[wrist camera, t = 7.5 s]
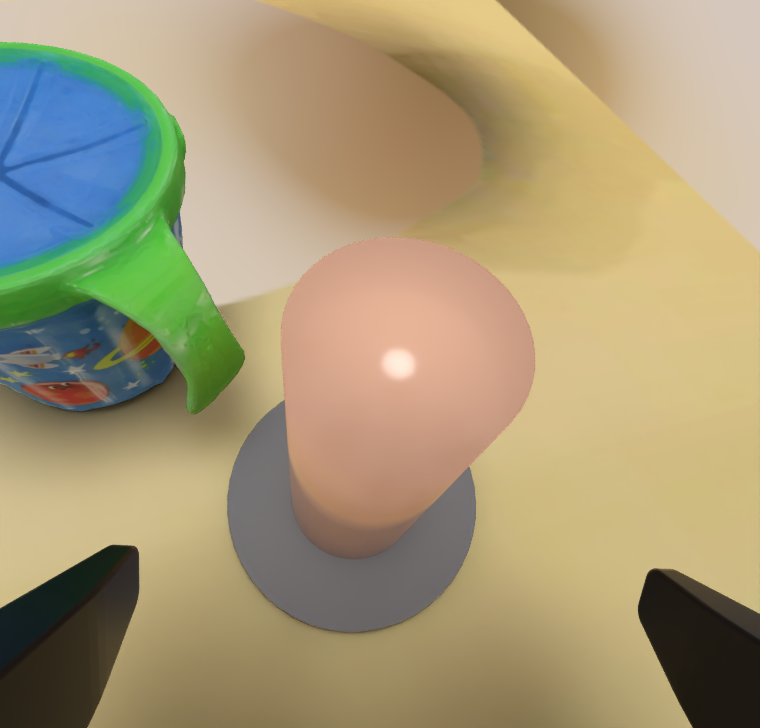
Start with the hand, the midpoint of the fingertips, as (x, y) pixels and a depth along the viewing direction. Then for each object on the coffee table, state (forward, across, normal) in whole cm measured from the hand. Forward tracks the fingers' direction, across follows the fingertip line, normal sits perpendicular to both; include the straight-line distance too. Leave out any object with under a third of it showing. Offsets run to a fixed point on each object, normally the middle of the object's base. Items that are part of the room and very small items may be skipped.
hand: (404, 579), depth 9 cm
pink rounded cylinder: (+11, 0, +4) cm, 12 cm away
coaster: (+11, 0, +5) cm, 12 cm away
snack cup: (+16, +12, 0) cm, 20 cm away
